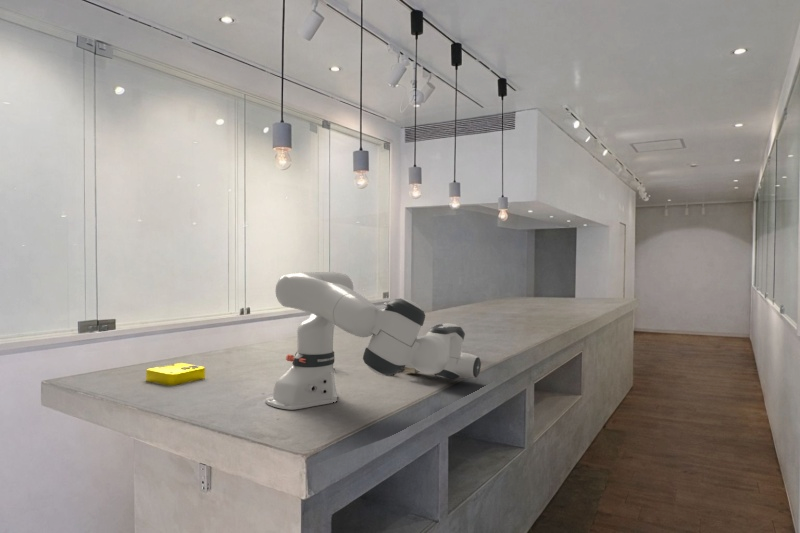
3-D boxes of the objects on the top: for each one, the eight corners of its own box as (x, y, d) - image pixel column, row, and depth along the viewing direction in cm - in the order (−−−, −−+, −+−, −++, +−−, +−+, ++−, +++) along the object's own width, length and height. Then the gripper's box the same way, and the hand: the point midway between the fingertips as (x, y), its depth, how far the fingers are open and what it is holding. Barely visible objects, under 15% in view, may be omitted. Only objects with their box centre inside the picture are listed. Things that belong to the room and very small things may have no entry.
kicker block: (414, 373, 199) (414, 346, 199) (404, 371, 202) (404, 345, 202) (422, 371, 202) (421, 344, 202) (411, 370, 206) (411, 343, 206)
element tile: (180, 373, 200) (180, 361, 200) (207, 379, 192) (207, 365, 192) (143, 381, 188) (143, 367, 187) (170, 387, 180) (170, 373, 180)
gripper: (422, 374, 186) (392, 369, 195) (456, 366, 202) (427, 361, 211) (422, 356, 186) (392, 351, 195) (456, 349, 202) (427, 345, 211)
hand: (410, 356), depth 203 cm, fingers closed on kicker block, 4 cm apart
